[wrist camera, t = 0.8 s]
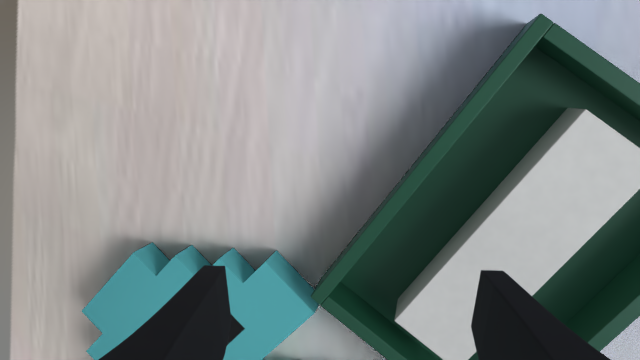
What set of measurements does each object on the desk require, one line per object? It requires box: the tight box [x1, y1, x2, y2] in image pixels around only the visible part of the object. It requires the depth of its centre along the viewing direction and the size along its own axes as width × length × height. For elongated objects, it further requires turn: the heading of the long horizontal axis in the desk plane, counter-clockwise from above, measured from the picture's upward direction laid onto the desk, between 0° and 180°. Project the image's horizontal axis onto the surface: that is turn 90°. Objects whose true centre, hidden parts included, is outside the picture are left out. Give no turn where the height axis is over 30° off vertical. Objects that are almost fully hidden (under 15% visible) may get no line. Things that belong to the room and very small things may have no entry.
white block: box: [394, 108, 640, 360], centre depth 26 cm, size 4×15×3 cm, turn 144°
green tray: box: [311, 14, 640, 360], centre depth 26 cm, size 14×20×3 cm
